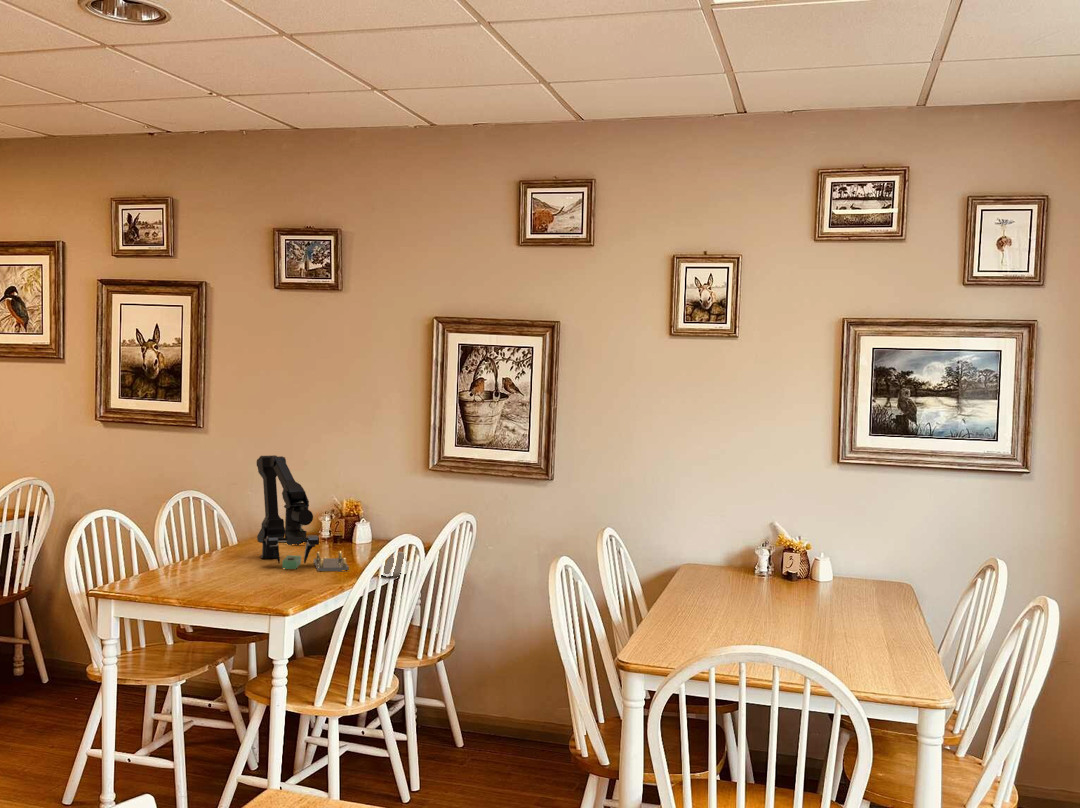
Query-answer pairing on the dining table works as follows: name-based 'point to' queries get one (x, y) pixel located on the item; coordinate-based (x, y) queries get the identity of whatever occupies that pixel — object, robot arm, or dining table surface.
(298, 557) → the board
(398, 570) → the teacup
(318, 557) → the chassis
